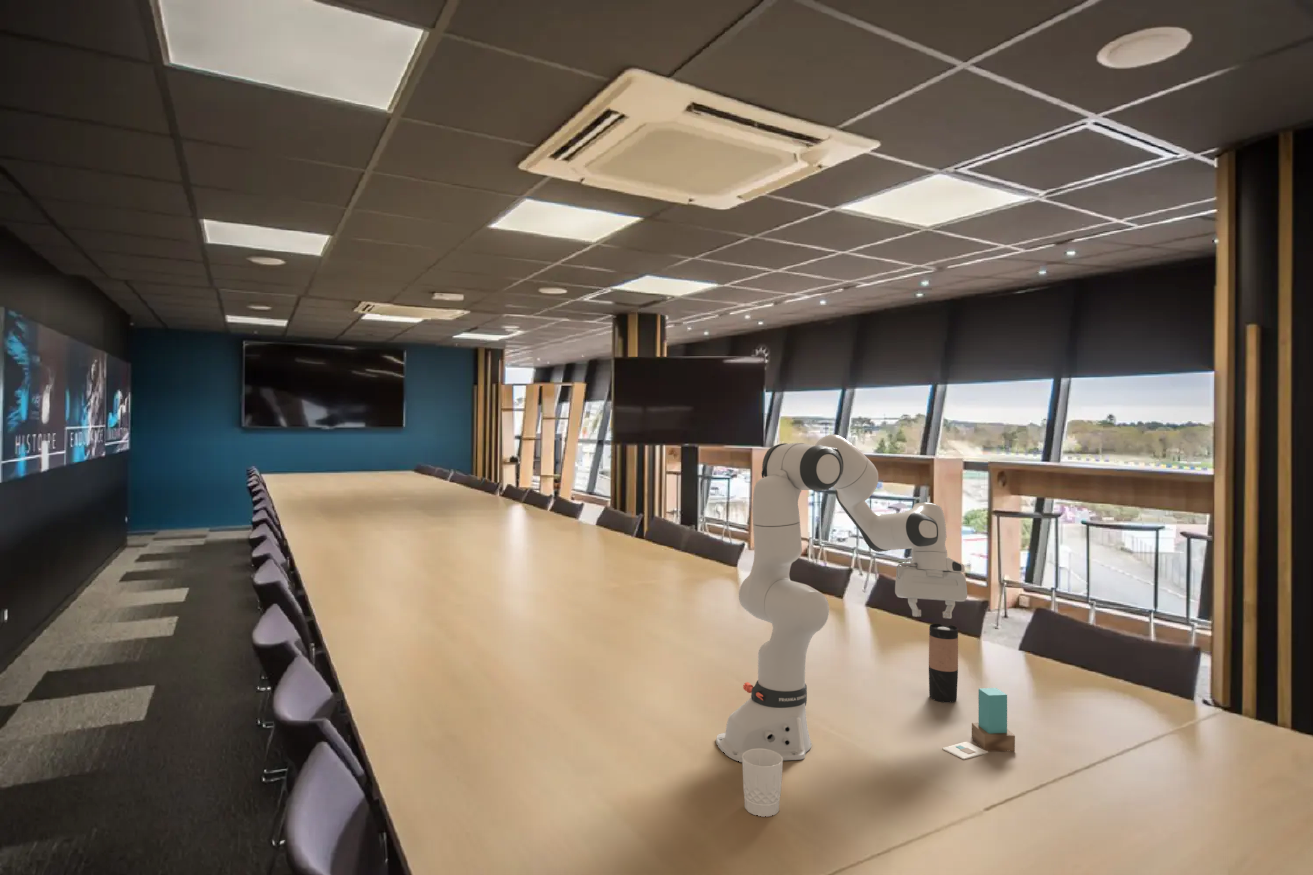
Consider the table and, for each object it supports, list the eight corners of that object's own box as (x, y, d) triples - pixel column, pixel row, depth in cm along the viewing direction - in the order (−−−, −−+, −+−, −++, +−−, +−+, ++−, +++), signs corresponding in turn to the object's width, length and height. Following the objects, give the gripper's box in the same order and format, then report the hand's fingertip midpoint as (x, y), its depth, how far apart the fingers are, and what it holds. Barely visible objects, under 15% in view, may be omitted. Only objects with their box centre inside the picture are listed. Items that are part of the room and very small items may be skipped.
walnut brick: (984, 752, 164) (984, 735, 164) (971, 738, 171) (971, 722, 171) (1014, 752, 164) (1014, 735, 164) (1000, 739, 171) (1000, 723, 171)
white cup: (777, 797, 142) (778, 748, 142) (786, 818, 134) (786, 766, 134) (738, 797, 142) (739, 748, 142) (745, 819, 134) (745, 766, 134)
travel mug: (940, 704, 193) (940, 631, 193) (922, 694, 200) (923, 624, 200) (963, 701, 195) (964, 629, 195) (945, 691, 202) (946, 622, 202)
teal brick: (988, 733, 165) (988, 695, 165) (978, 725, 170) (978, 688, 169) (1007, 732, 165) (1007, 694, 165) (996, 724, 170) (996, 687, 170)
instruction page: (963, 759, 159) (963, 757, 159) (942, 749, 165) (942, 747, 165) (987, 752, 163) (987, 751, 163) (965, 742, 168) (965, 740, 168)
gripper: (903, 560, 182) (905, 615, 179) (969, 566, 187) (972, 619, 184) (889, 561, 188) (890, 615, 184) (953, 567, 193) (956, 619, 190)
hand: (932, 617), depth 184 cm, fingers open, 8 cm apart
